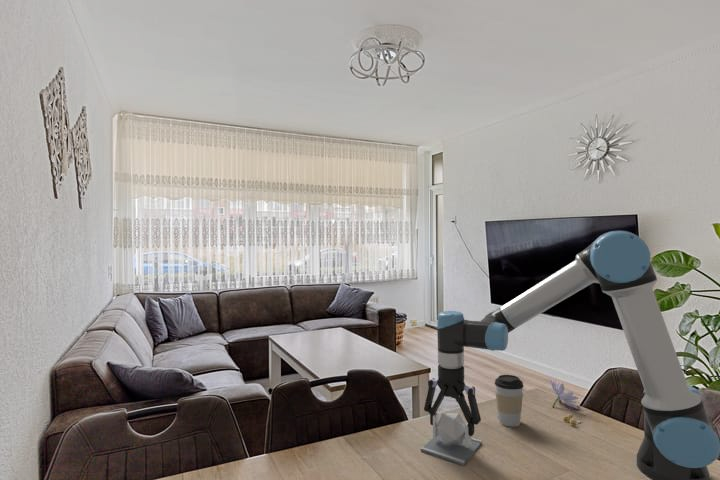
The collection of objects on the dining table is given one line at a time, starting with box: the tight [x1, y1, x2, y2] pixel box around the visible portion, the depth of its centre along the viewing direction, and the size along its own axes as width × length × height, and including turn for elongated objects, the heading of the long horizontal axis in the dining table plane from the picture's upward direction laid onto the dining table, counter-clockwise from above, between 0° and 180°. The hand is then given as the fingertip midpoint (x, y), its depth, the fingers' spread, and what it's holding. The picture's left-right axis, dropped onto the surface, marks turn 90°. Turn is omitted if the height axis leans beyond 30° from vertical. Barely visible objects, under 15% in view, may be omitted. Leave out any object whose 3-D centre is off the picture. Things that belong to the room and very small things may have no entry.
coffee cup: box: [494, 374, 524, 427], centre depth 138 cm, size 9×9×15 cm
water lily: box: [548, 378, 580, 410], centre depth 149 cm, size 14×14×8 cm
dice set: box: [562, 413, 582, 427], centre depth 137 cm, size 5×5×2 cm
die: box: [437, 412, 466, 444], centre depth 122 cm, size 8×9×10 cm
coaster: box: [420, 434, 483, 466], centre depth 122 cm, size 13×14×1 cm
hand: (451, 440), depth 122 cm, fingers closed on die, 9 cm apart
